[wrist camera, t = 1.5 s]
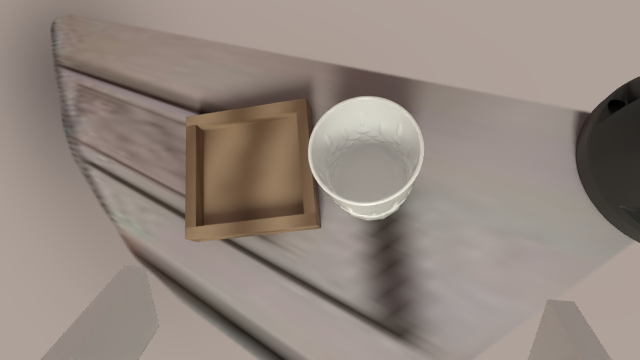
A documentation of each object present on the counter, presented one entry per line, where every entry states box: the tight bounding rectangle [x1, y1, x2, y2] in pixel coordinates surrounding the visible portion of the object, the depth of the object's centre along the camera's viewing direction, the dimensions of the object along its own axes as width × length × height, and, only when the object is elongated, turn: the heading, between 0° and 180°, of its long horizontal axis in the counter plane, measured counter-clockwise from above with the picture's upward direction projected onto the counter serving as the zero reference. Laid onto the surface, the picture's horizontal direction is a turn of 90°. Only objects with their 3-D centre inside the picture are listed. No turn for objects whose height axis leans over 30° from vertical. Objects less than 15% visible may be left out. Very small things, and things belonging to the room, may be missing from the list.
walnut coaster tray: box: [185, 98, 321, 242], centre depth 37 cm, size 12×12×2 cm
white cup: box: [308, 96, 424, 221], centre depth 32 cm, size 8×8×10 cm
